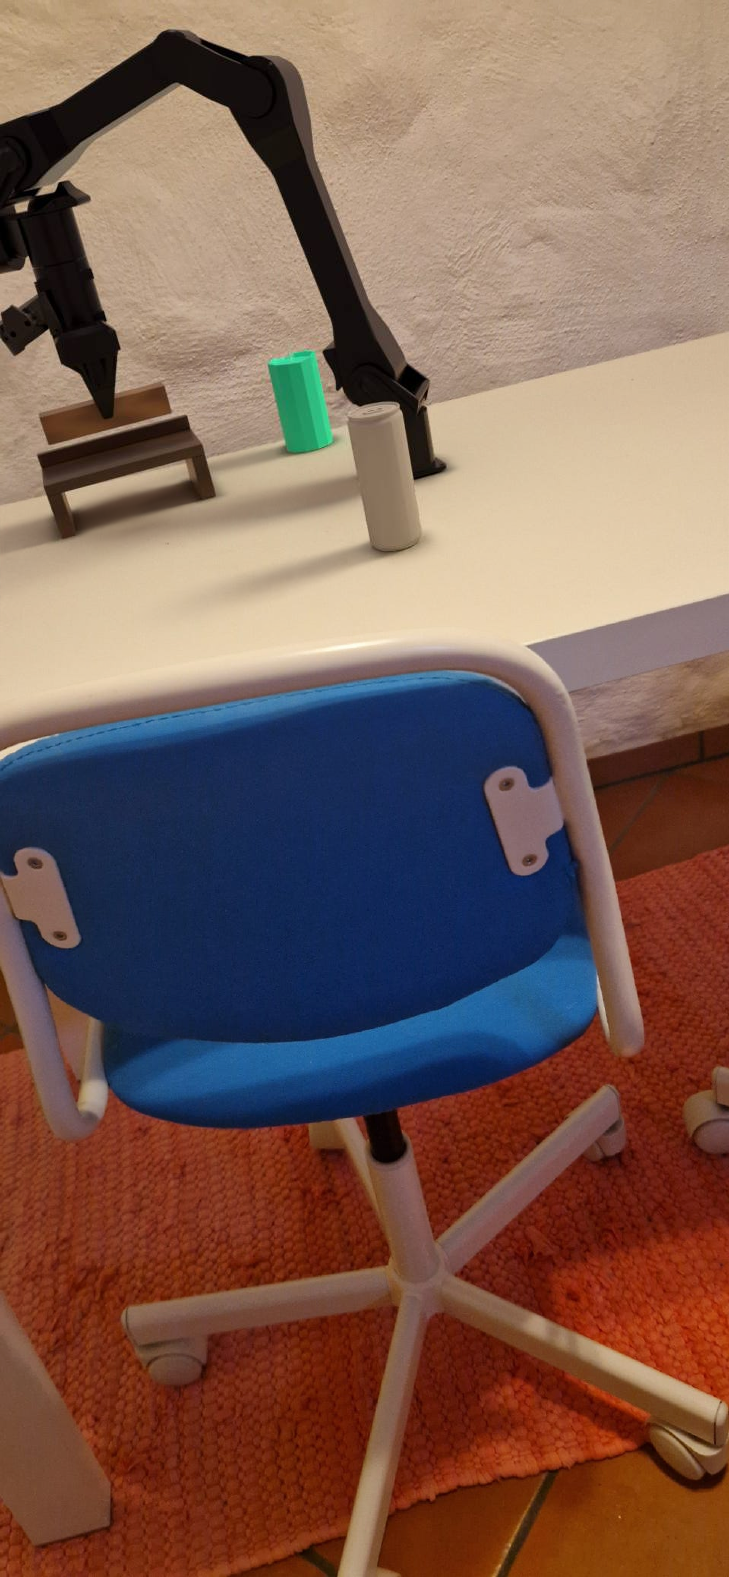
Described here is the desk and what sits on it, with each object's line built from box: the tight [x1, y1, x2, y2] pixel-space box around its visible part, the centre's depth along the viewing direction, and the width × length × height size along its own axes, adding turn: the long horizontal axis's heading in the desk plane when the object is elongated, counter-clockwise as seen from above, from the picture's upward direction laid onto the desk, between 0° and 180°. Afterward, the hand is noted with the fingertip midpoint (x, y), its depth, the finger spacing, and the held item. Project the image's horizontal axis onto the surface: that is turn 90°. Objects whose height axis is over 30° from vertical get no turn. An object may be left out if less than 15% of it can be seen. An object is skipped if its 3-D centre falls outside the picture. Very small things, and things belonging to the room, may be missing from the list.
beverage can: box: [346, 402, 423, 552], centre depth 94 cm, size 5×5×12 cm
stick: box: [38, 381, 173, 446], centre depth 118 cm, size 14×3×3 cm, turn 106°
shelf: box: [36, 413, 217, 539], centre depth 122 cm, size 10×18×8 cm, turn 106°
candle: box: [267, 343, 334, 454], centre depth 129 cm, size 6×6×12 cm
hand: (107, 415), depth 118 cm, fingers closed on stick, 3 cm apart
